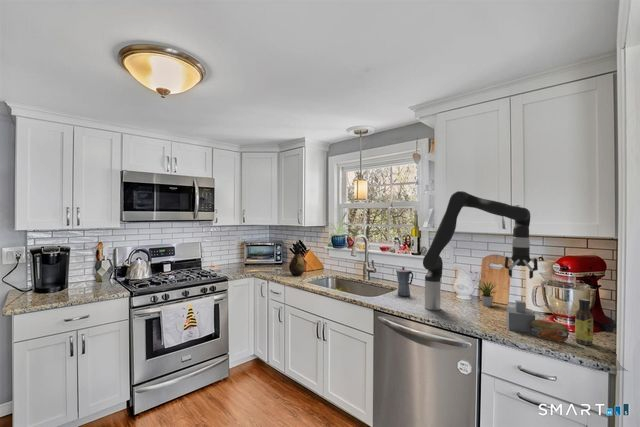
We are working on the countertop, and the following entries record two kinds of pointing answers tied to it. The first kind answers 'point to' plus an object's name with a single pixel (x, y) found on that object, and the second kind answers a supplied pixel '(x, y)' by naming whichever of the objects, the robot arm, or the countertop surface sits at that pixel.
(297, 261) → the pineapple
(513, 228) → the robot arm
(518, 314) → the stacked grey blocks
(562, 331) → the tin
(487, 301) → the house plant
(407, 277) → the moka pot
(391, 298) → the countertop surface
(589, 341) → the sauce bottle
